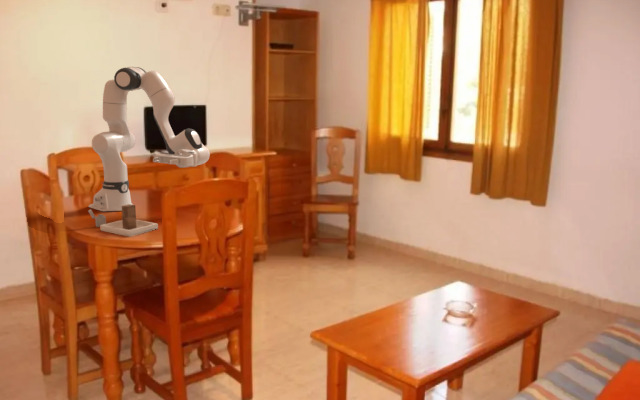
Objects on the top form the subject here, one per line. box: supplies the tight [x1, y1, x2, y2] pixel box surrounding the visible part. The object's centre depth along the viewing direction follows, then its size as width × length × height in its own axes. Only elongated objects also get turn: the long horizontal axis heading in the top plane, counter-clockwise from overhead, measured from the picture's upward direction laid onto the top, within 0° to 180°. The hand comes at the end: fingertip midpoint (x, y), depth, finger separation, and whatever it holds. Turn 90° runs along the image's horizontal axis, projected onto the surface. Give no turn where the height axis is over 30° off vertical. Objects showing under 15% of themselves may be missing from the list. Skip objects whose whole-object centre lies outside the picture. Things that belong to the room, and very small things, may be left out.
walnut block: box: [121, 204, 137, 229], centre depth 260 cm, size 4×4×10 cm
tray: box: [99, 219, 159, 238], centre depth 261 cm, size 18×16×2 cm
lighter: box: [87, 208, 107, 228], centre depth 265 cm, size 7×2×8 cm, turn 122°
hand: (161, 161), depth 272 cm, fingers open, 8 cm apart
